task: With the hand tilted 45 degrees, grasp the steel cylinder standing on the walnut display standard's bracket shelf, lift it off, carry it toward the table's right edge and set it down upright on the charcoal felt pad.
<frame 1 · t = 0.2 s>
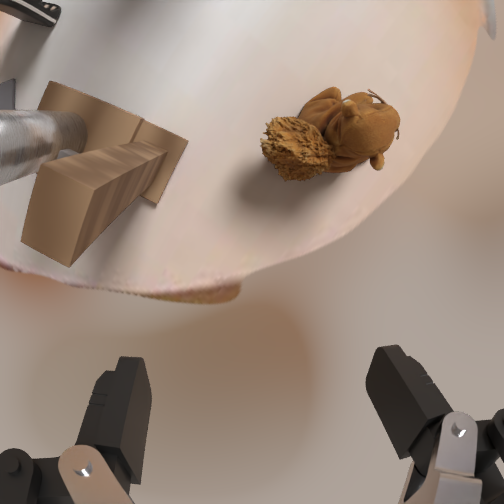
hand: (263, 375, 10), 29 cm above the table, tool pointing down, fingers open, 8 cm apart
steel cylinder: (65, 137, 24), point 8 cm above the table, touching walnut standard
battery charger: (44, 12, 24), on the table
walnut standard: (150, 160, 34), on the table
stuffed squirrel: (313, 138, 36), on the table
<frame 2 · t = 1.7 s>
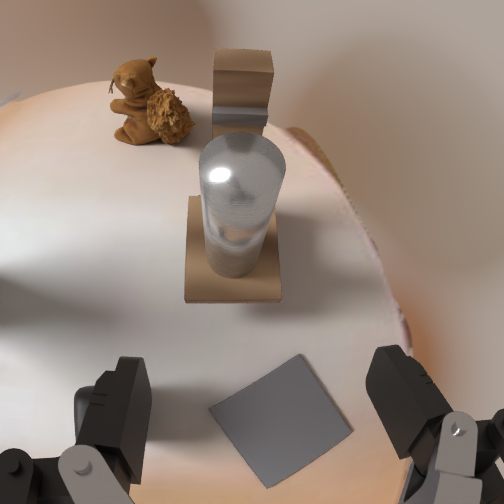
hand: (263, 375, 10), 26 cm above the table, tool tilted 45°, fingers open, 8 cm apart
steel cylinder: (232, 253, 31), point 8 cm above the table, touching walnut standard
battery charger: (125, 412, 31), on the table
walnut standard: (228, 219, 41), on the table
stuffed squirrel: (157, 131, 46), on the table
felt pad: (282, 423, 32), on the table
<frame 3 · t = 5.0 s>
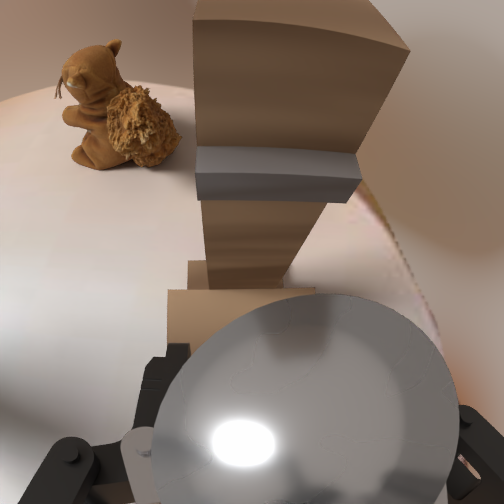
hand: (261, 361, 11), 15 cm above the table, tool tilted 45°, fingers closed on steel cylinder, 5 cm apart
steel cylinder: (246, 397, 17), point 8 cm above the table, touching gripper, walnut standard
walnut standard: (235, 297, 27), on the table
stuffed squirrel: (130, 148, 32), on the table
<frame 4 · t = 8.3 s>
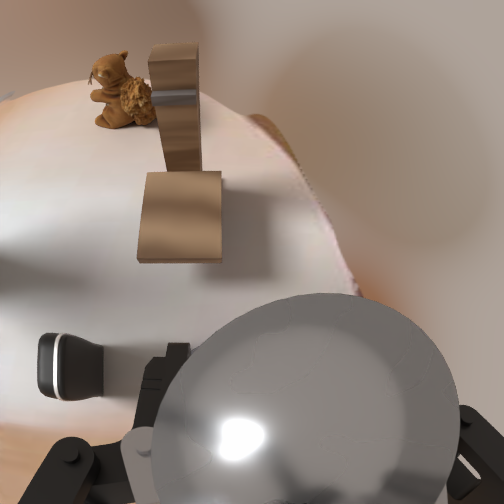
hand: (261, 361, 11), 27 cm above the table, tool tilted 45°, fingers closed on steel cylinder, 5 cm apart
steel cylinder: (247, 397, 17), point 20 cm above the table, touching gripper
battery charger: (91, 369, 34), on the table
walnut standard: (189, 196, 44), on the table
stuffed squirrel: (132, 116, 50), on the table
when the fingers open (9 cm above the table, at t = 12.0 s): steel cylinder drops 1 cm, resting on felt pad.
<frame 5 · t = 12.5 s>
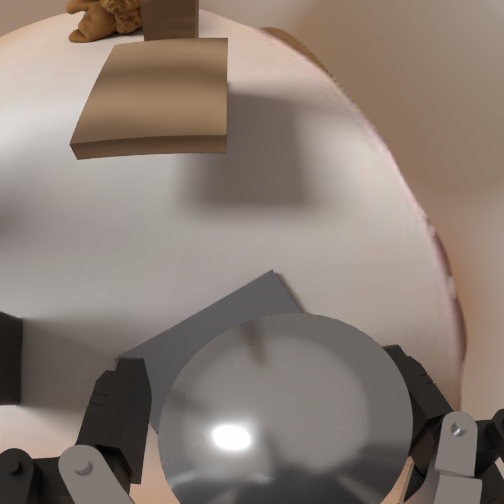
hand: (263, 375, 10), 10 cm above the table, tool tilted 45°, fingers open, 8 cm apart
steel cylinder: (244, 397, 18), point 1 cm above the table, touching felt pad
battery charger: (6, 359, 17), on the table
walnut standard: (177, 99, 27), on the table
stuffed squirrel: (114, 30, 33), on the table
felt pad: (243, 395, 18), on the table
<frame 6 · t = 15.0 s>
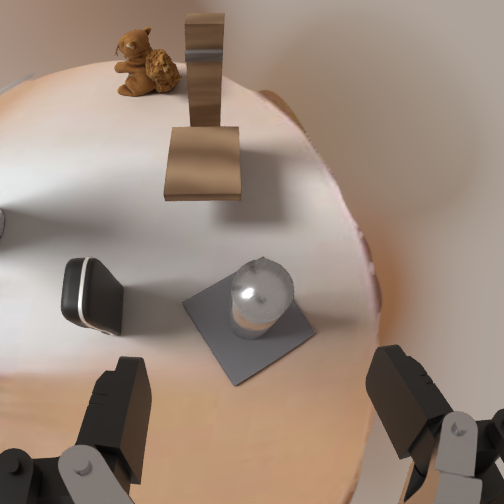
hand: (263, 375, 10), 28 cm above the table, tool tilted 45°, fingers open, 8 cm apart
steel cylinder: (249, 319, 38), point 1 cm above the table, touching felt pad
battery charger: (110, 310, 38), on the table
walnut standard: (206, 155, 48), on the table
stuffed squirrel: (152, 86, 54), on the table
felt pad: (249, 319, 39), on the table
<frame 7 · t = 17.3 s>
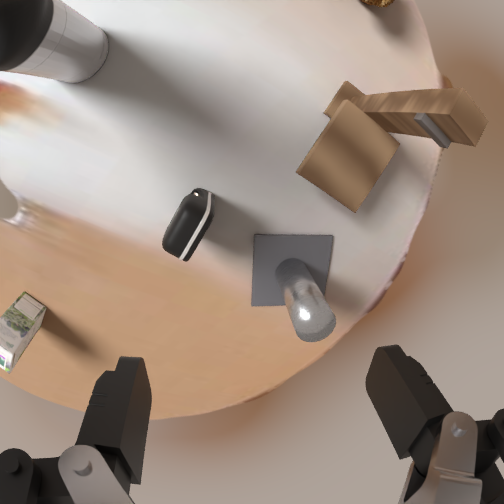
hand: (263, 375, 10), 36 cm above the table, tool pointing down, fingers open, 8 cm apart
steel cylinder: (291, 272, 49), point 1 cm above the table, touching felt pad
syrup box: (33, 307, 48), on the table
battery charger: (192, 207, 44), on the table
walnut standard: (355, 113, 41), on the table
felt pad: (290, 270, 50), on the table
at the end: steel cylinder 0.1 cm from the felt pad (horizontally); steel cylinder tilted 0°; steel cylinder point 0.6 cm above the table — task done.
